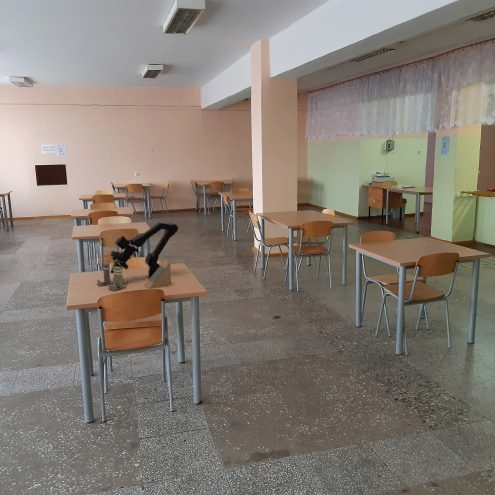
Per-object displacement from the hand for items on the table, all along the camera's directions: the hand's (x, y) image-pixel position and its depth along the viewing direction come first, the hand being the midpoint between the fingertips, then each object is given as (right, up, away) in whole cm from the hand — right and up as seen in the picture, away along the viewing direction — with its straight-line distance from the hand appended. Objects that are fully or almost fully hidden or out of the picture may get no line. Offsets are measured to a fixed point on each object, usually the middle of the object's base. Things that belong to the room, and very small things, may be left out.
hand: (111, 272), depth 297 cm
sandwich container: (+30, -8, -4) cm, 31 cm away
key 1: (-2, -6, 0) cm, 6 cm away
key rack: (+2, -8, -6) cm, 10 cm away
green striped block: (+8, -8, -10) cm, 14 cm away
